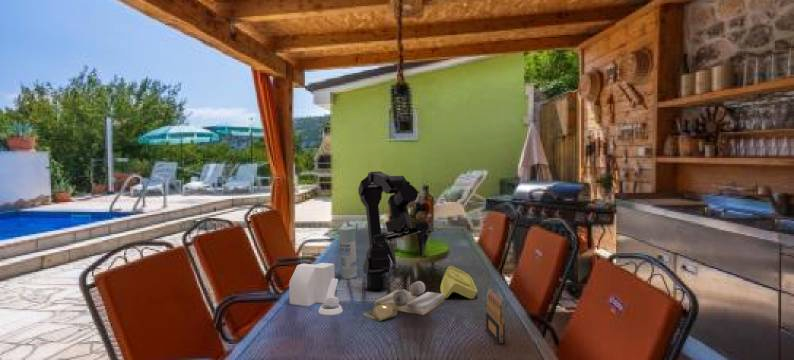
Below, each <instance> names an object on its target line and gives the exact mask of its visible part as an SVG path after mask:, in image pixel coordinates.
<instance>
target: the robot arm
mask: <svg viewBox="0 0 794 360" xmlns="http://www.w3.org/2000/svg"><path fill="white" fill-rule="evenodd" d="M357 191H358V192H357V193H358V196H359V198H360V202H361V203H362V205H363V206H364V208H365V212H366V213H365V214H366V222H367V232H368V242H369V248H368V249H367V252H366V253H365V254H366V255H365V257H366V258H365V261H364V262H363V265H362V271H363V273H364V274H366V287H365V288H364V290H366V291H371V292H378V293H379V292H383V291H385V290H386V289H388V288H389V286H388V283H387V282H388V281H387V280H388V279H387V276H386V275H387V273H390V269H391V268H390V267H391V261H392V263H393V265H396V264H397V260H396V254H395V253H396V251H395V247H394V244H393V243H392V242H393V240H396V239H400V238H403V237H407V236H410V235H414V234H416V237H417V242H418V249H419V254H420V255H419V256H420V257H421V258H423V257H424V255H425V249H426V245H427V241H428V238H429V237H430V236H432V233H434V232H435V228H434V225H433V223H430V222H429V221H427V220H423V221H421V222H417V223H416V224H415V226H414V227H412V224H411V223H412V222H411V219H412V217H411V215H410V214H409V212H410V211H409V208H408V207H410V206H411V205H412V204H413V203H414V202H416V200H417V198H418V196H419V194H418V193H419V191H418V190H417V188H416V187H415V186H414V185H412V184H411V183H410V181H408V180H407V178H405V176H404V175H390V174H387V173H384V172H382V171H370V172H368V173H367V176H366V177H365V178H363V179H362V180H361V181H360V183H359V186H358V189H357ZM383 193H385V195H386V194H387V195H388V194H392V195H390V196H389V198H388V200H387V205H388V206H389V210H390V211H389V212H390V216H389V220H388V221H386V222H384V224H385V227H386V230H387V232H382V228H381V219H380V217H381V216H380V210H379V205H380V203H381V200H382V198H383V197H382V196H383V195H382V194H383Z"/></svg>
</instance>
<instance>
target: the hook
mask: <svg viewBox="0 0 794 360" xmlns="http://www.w3.org/2000/svg"><path fill="white" fill-rule="evenodd" d="M338 282H339V279H338V278H332V279H331V282H330V285H329V289H328V292H327V295H326V299H325V304H324V303H323V304H322V305H320V307H319V308H318V312H317V313H318V314H320V315H324V316H336V315H339V314H342V312H343V307H342V306H341V304H339V298H338V297H336V296H335V297H334V294H335V295H336V289H337V286H338Z"/></svg>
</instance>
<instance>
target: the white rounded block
mask: <svg viewBox="0 0 794 360" xmlns="http://www.w3.org/2000/svg"><path fill="white" fill-rule="evenodd" d="M335 273H336V272H335V263H330V262H329V263H328V262H320V263H316V264H313V263H312V264H311V263H305V262H303V263H300V264H297V265H296V268H295V269H294V272H293V274H292V276H291V277H290V280H289V282H288V287H289V288H288V289H289V290H288V291H289V294H288V295H289V304H290V305H294V306H295V305H296V306H302V307H310V306H311V305H314V304H316V303H319V304H323V305H324V304H326V303H325V299H326V295H327V292H328V289H329V285H330V282H331V279H332V278H335ZM335 279H336V278H335ZM334 297H336V293H335V294H334Z"/></svg>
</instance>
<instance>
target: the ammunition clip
mask: <svg viewBox="0 0 794 360" xmlns="http://www.w3.org/2000/svg"><path fill="white" fill-rule="evenodd" d="M505 327H506V326H505V323H504V306H503V300H502V298H501V297H500V296H499V295H497V293H495V292H494V291H493V290H492V289H491V288H489V290H488V293H487V303H486V312H485V330H486V332H487V333H488V335H489V336H491V338H492V340H493V341H495V342H496V343H497V345H504V344H505V343H506V338H505V337H506V336H505V335H506V333H505V329H506V328H505Z"/></svg>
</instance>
